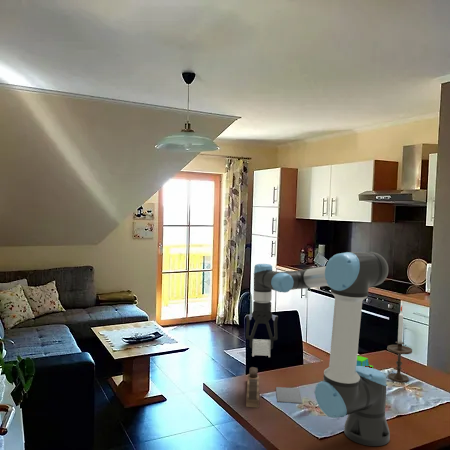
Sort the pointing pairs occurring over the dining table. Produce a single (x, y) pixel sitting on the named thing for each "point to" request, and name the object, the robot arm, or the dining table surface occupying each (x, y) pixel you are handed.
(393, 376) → the candlestick
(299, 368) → the dining table surface
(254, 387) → the plane body
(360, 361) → the toy block
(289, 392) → the grey mat
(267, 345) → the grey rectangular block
